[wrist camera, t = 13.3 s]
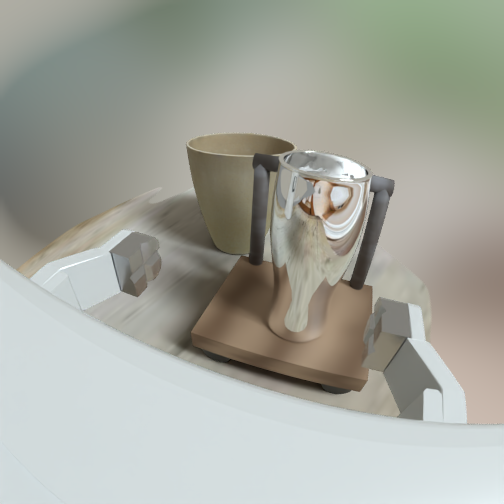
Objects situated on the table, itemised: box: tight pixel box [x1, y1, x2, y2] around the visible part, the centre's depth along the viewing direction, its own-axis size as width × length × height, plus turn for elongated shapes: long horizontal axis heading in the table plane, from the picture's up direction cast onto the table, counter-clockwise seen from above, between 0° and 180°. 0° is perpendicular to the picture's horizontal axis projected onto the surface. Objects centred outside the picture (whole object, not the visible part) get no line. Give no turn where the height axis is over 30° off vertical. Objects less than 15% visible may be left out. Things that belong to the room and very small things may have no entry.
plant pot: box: [186, 133, 297, 254], centre depth 42 cm, size 15×15×16 cm
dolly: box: [191, 153, 394, 394], centre depth 26 cm, size 16×13×17 cm
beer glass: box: [266, 150, 373, 342], centre depth 23 cm, size 7×7×15 cm
